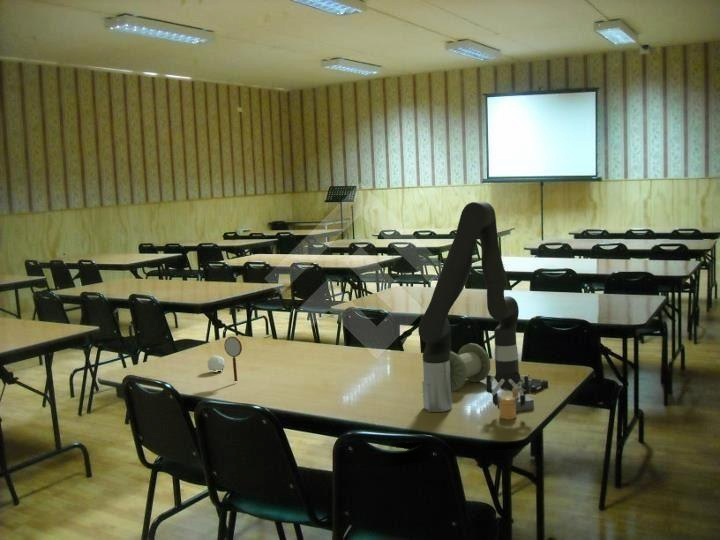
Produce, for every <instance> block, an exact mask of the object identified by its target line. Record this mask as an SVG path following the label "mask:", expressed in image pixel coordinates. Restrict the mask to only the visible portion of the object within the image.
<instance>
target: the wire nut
mask: <svg viewBox="0 0 720 540" xmlns="http://www.w3.org/2000/svg"><path fill="white" fill-rule="evenodd" d="M498 405H499V407H498V408H499V417H500V418H501V419H505V420H513V419H515V418H516V417H517V411H516V403H515V398H513V397H502V398H500V403H499V404H498Z"/></svg>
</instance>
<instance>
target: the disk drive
mask: <svg viewBox="0 0 720 540" xmlns="http://www.w3.org/2000/svg"><path fill="white" fill-rule="evenodd" d="M529 379H530V387H531V392H530V393H531V394H536V393H538V392H541V391H543V390H544V389H546V388H549V380H545V379H537V378H531V377H529ZM519 383H520V385H521V386H522V388H523V389H524V390H526V389H525V382H523V381H522V379H520V380H519ZM500 389H506V390H511V389H512V388H503V387H500Z"/></svg>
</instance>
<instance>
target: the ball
mask: <svg viewBox="0 0 720 540" xmlns="http://www.w3.org/2000/svg"><path fill="white" fill-rule="evenodd" d="M225 363H226V361H225V359H224V357H222V356H221V355H212V356H210V357H209V359H208V360H207V368H208V370H209V371H210V370H213V371H216V370H222V369H223V370H224V368H226V364H225ZM223 370H222V371H223Z"/></svg>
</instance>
